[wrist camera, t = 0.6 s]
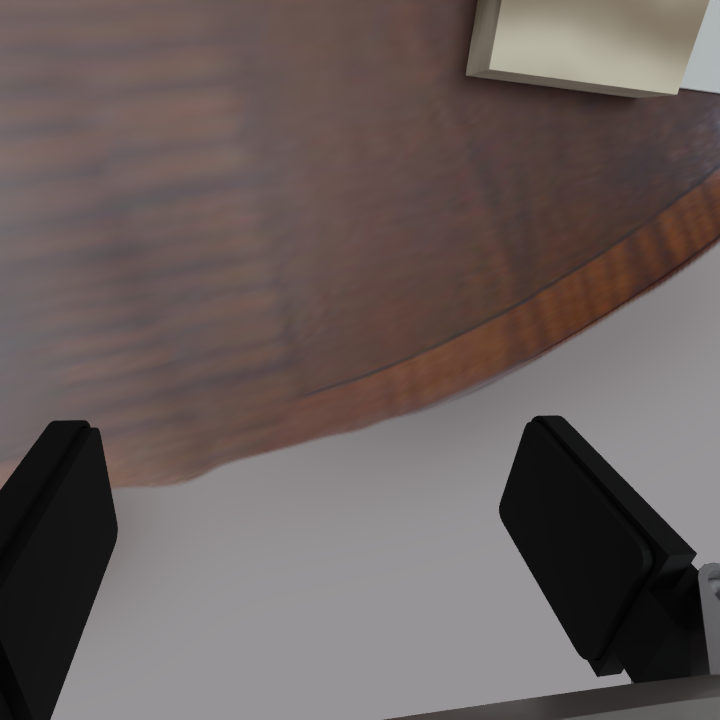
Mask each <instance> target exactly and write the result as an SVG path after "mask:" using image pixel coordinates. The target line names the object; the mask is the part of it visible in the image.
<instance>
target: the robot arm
mask: <svg viewBox="0 0 720 720" xmlns="http://www.w3.org/2000/svg"><path fill="white" fill-rule="evenodd" d="M499 513H500V518H501V520H502V522H503V524H504V526H505V527H506V529H507V531H508V532H509V534H510V536H511V538H512V540H513V541H514V543H515V545H516V546H517V548H518V550H519V552H520V553H521V555H522V557H523V559H524V560H525V562H526V564H527V566H528V567H529V569H530V571H531V573H532V574H533V576H534V578H535V579H536V581H537V583H538V584H539V586H540V588H541V590H542V592H543V594H544V595H545V597H546V599H547V600H548V602H549V604H550V606H551V607H552V609H553V611H554V613H555V614H556V616H557V618H558V620H559V621H560V623H561V625H562V627H563V628H564V630H565V632H566V634H567V635H568V637H569V638H570V640H571V642H572V644H573V646H574V647H575V649H576V651H577V652H578V654H579V655H580V656H581V657H582V658H583V659H586V660H588V662H589V664H590V665H591V667H592V669H593V671H594V672H595V674H596V676H597V677H600V676H607V675H614V674H621V673H622V671H623V669H625V670H626V672H627V674H628V675H629V677H630V678H631V684H627V685H620V686H614V687H606V688H600V689H592V690H586V691H578V692H571V693H564V694H557V695H550V696H543V697H537V698H529V699H521V700H514V701H508V702H501V703H494V704H487V705H480V706H473V707H466V708H460V709H453V710H446V711H439V712H432V713H425V714H419V715H412V716H405V717H398V718H392V719H385V720H720V563H709V564H704V565H703V566H702V567H701V568H700V569H699V570H697V569H696V568H695V567H694V566H693V565H692V564H691V562H692V561H693V559H694V557H695V556H696V554H697V553H696V552H695V551H694V550H693V549H692V548H691V547H690V546H689V545H688V544H687V543H686V542H685V541H684V540H683V539H682V538H681V537H680V536H679V535H678V534H677V533H676V532H675V531H674V530H673V529H672V528H671V527H670V526H669V525H668V524H667V522H666V521H665V520H664V519H663V518H661V517H660V515H659V514H658V513H657V512H656V511H655V510H654V509H653V508H652V507H651V506H650V505H649V504H648V503H647V502H646V501H645V500H644V499H643V498H642V497H641V496H640V495H639V494H638V493H637V492H636V491H635V490H634V489H633V488H632V487H631V486H630V485H629V484H628V483H627V482H626V481H625V480H624V479H623V478H622V477H621V476H620V475H619V474H618V473H617V472H616V471H615V470H614V469H613V468H612V467H611V465H610V464H608V463H607V461H606V460H604V458H603V457H602V456H601V455H600V454H599V453H598V452H597V451H596V450H595V449H594V448H593V447H592V446H591V445H590V444H589V443H588V442H587V441H586V440H585V439H584V438H583V437H582V436H581V435H580V434H579V433H578V432H577V431H576V430H575V429H574V428H573V427H572V426H571V425H570V424H569V423H568V422H567V421H566V420H565V419H564V418H563V417H562V416H536V417H534V418H533V419H532V421H531V422H529V423H527V424H526V426H525V429H524V432H523V435H522V438H521V441H520V444H519V447H518V450H517V453H516V456H515V459H514V462H513V465H512V468H511V472H510V475H509V478H508V480H507V483H506V487H505V490H504V493H503V496H502V499H501V502H500V506H499ZM117 532H118V527H117V520H116V514H115V509H114V504H113V499H112V493H111V488H110V482H109V477H108V472H107V466H106V461H105V456H104V451H103V445H102V440H101V435H100V431H99V429H98V428H90V425H89V423H88V422H87V421H85V420H69V421H52V422H51V423H50V424H49V425H48V426H47V427H46V429H45V430H44V431H43V433H42V434H41V436H40V437H39V438H38V440H37V441H36V442H35V444H34V445H33V446H32V448H31V449H30V450H29V452H28V453H27V455H26V456H25V457H24V459H23V460H22V461H21V463H20V464H19V465H18V467H17V468H16V469H15V471H14V472H13V474H12V475H11V476H10V478H9V479H8V480H7V482H6V483H5V484H4V486H3V487H2V489H1V490H0V720H50V719H51V716H52V714H53V711H54V708H55V706H56V703H57V700H58V698H59V695H60V692H61V689H62V686H63V684H64V681H65V678H66V676H67V673H68V671H69V668H70V665H71V662H72V660H73V657H74V654H75V652H76V649H77V646H78V643H79V641H80V638H81V635H82V633H83V630H84V627H85V625H86V622H87V619H88V616H89V614H90V611H91V608H92V606H93V603H94V600H95V598H96V595H97V592H98V590H99V587H100V584H101V581H102V579H103V576H104V573H105V571H106V567H107V565H108V563H109V560H110V557H111V554H112V552H113V549H114V546H115V543H116V539H117Z"/></svg>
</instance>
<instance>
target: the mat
mask: <svg viewBox="0 0 720 720" xmlns="http://www.w3.org/2000/svg"><path fill="white" fill-rule="evenodd" d="M679 88H681V89H689V90H696V91H703V92H710V93H717V94H720V0H710V1H709V4H708V7H707V9H706V12H705V15H704V18H703V21H702V24H701V27H700V30H699V33H698V35H697V38H696V41H695V44H694V47H693V50H692V53H691V56H690V58H689V61H688V64H687V67H686V70H685V73H684V76H683V79H682V82H681V84H680V87H679Z"/></svg>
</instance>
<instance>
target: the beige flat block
mask: <svg viewBox="0 0 720 720" xmlns="http://www.w3.org/2000/svg"><path fill="white" fill-rule="evenodd" d="M709 1H710V0H478V2H477V8H476V14H475V20H474V26H473V32H472V38H471V45H470V51H469V57H468V63H467V69H466V75H465V76H472V77H480V78H487V79H495V80H503V81H510V82H518V83H525V84H533V85H541V86H548V87H556V88H564V89H571V90H579V91H586V92H594V93H602V94H609V95H617V96H625V97H632V98H642V97H655V96H667V95H677V93H678V90H679V87H680V84H681V82H682V79H683V76H684V73H685V70H686V67H687V64H688V61H689V58H690V56H691V53H692V50H693V47H694V44H695V41H696V38H697V35H698V33H699V30H700V27H701V24H702V21H703V18H704V15H705V12H706V9H707V7H708V4H709Z"/></svg>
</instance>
